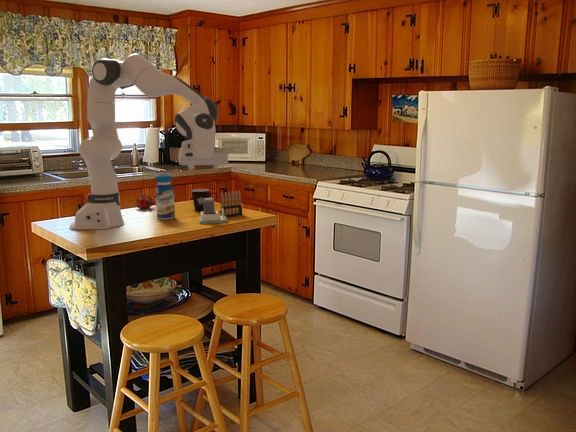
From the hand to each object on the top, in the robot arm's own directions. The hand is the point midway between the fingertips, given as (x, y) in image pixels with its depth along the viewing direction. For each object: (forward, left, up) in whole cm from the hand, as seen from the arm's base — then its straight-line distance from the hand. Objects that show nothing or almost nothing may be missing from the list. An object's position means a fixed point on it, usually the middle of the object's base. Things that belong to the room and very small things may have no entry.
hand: (203, 169), depth 233 cm
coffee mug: (+1, +38, -25) cm, 46 cm away
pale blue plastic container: (+4, +11, -25) cm, 27 cm away
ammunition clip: (+13, +20, -25) cm, 35 cm away
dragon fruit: (-28, +50, -25) cm, 63 cm away
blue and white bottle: (-17, +23, -25) cm, 38 cm away
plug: (+2, +11, -23) cm, 26 cm away
